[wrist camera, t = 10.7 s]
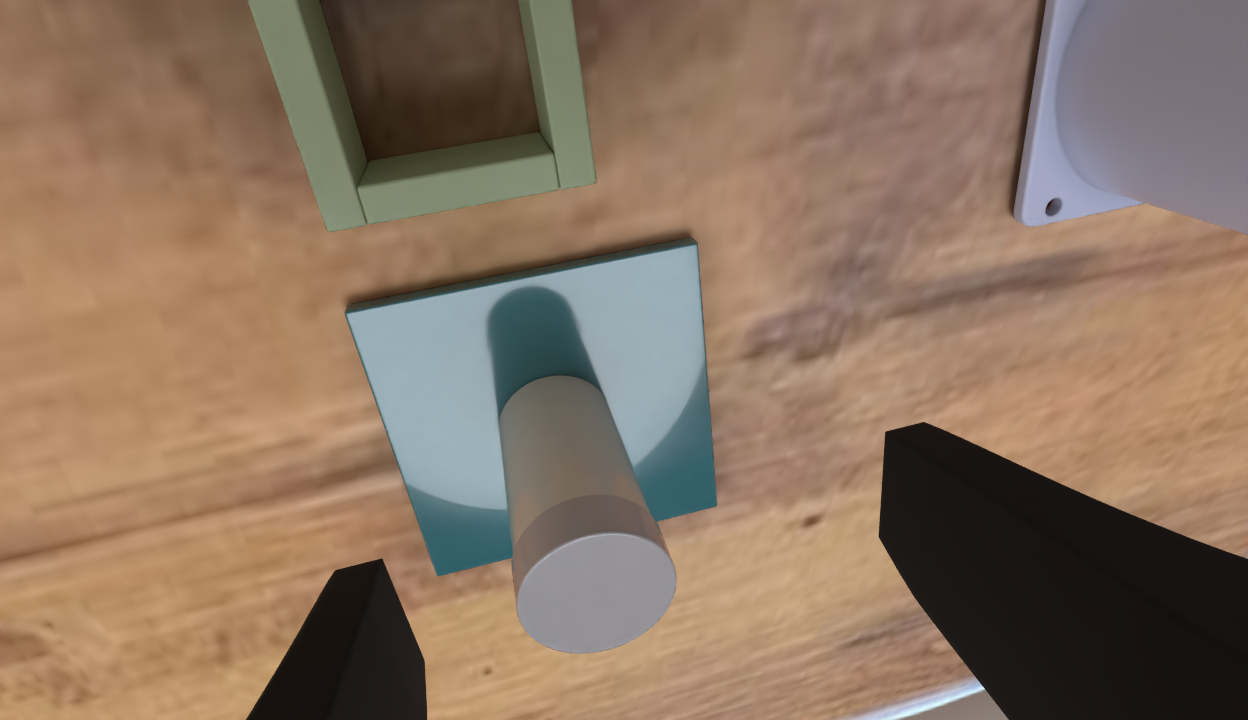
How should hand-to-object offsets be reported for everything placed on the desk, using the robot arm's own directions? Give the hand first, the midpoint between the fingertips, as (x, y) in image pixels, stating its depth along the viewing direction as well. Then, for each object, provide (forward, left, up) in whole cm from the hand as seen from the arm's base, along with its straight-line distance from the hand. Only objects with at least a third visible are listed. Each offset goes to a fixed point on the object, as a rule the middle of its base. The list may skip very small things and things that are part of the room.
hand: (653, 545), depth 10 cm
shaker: (+1, +4, -9) cm, 10 cm away
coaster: (+1, +4, -10) cm, 11 cm away
